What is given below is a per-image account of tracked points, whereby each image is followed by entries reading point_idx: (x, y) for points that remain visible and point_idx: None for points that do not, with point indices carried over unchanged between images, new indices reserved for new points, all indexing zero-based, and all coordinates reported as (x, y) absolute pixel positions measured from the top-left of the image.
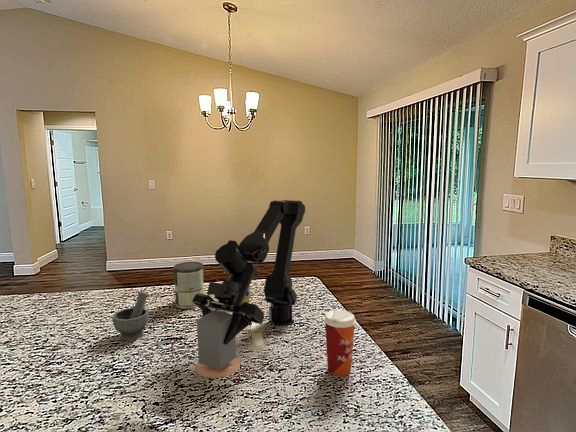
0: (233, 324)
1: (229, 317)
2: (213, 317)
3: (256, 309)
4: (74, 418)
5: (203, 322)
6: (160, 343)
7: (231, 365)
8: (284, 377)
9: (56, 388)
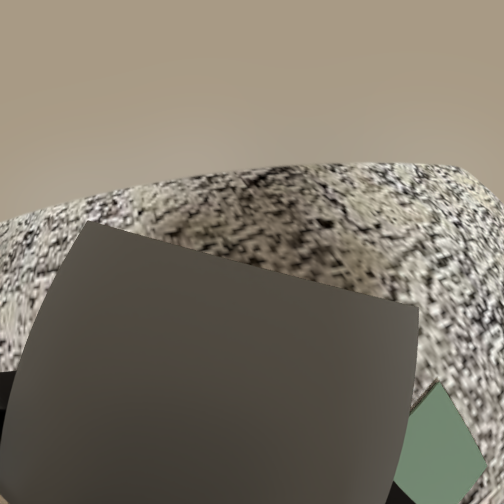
0: (12, 381)
1: (12, 435)
2: (223, 453)
3: None
4: (419, 178)
5: (310, 287)
6: (480, 464)
7: None
8: None
9: (500, 239)
